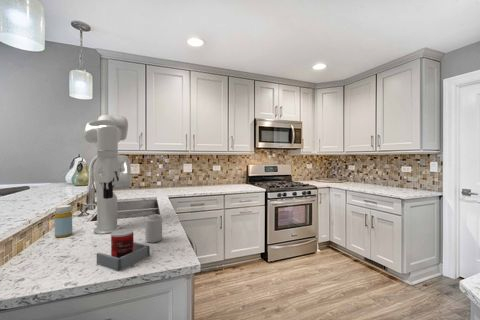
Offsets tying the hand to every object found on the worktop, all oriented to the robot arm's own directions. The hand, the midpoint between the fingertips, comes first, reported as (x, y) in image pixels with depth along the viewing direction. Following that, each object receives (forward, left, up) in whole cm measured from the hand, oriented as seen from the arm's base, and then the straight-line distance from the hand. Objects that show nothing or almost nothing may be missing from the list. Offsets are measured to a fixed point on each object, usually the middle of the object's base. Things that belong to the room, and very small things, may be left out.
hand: (108, 198), depth 98 cm
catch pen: (+13, -3, -23) cm, 26 cm away
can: (+8, +17, -23) cm, 30 cm away
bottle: (-38, +2, -23) cm, 44 cm away
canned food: (+13, -3, -23) cm, 26 cm away
